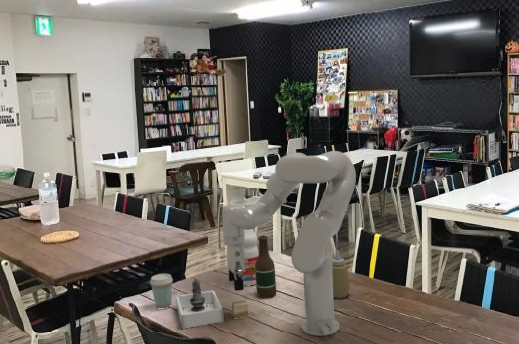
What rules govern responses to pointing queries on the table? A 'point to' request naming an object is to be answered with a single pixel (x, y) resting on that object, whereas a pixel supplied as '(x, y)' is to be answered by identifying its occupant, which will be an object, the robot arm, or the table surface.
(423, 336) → the table surface
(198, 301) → the chess piece
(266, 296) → the beer bottle
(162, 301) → the coffee cup
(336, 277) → the squeeze bottle
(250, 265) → the fruit juice
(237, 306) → the beech cube
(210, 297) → the tote
